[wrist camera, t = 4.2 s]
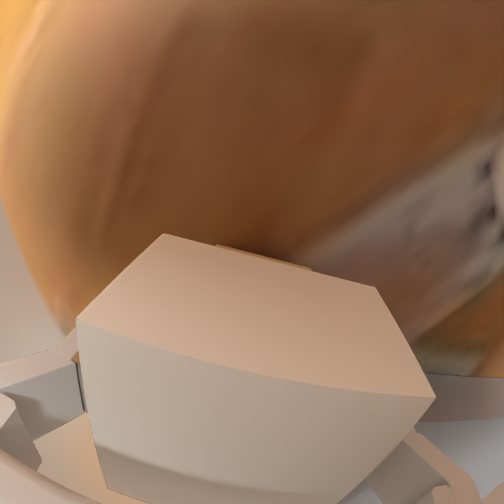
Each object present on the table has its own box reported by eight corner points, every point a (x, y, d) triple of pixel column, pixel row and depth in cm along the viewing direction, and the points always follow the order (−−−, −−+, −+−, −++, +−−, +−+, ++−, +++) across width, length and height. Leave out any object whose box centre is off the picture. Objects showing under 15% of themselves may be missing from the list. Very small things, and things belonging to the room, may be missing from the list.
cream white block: (196, 203, 11) (75, 318, 4) (347, 243, 11) (436, 397, 4) (173, 339, 13) (107, 488, 6) (296, 369, 13) (304, 529, 6)
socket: (368, 365, 13) (387, 421, 10) (551, 378, 14) (572, 405, 10) (265, 512, 19) (263, 545, 16) (432, 504, 20) (439, 529, 16)
